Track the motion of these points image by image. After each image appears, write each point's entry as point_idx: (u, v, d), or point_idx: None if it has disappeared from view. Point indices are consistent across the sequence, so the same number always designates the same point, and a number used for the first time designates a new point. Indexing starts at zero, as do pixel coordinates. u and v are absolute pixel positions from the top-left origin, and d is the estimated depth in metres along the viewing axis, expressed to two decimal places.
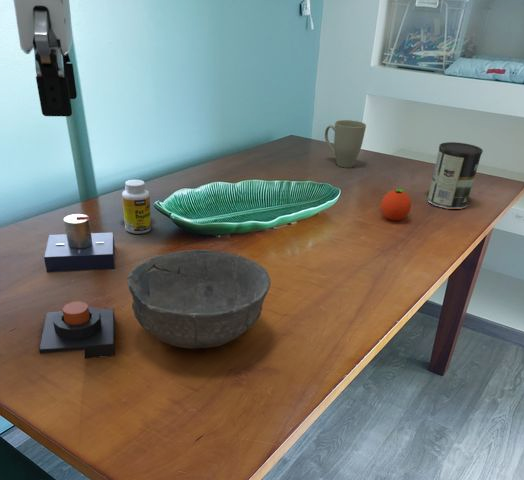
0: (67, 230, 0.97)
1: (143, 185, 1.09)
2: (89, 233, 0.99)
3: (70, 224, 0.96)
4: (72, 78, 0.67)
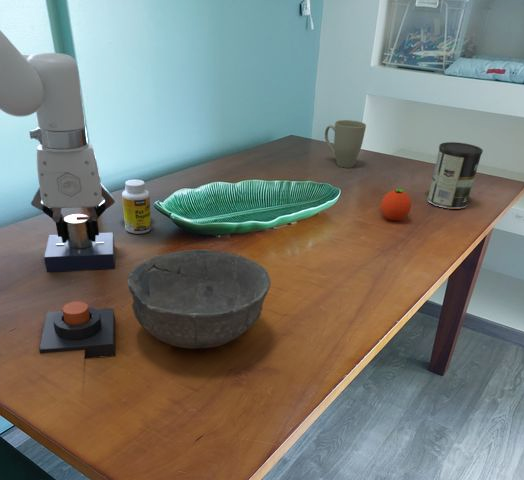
0: (67, 230, 0.97)
1: (143, 185, 1.09)
2: (89, 233, 0.99)
3: (70, 224, 0.96)
4: None
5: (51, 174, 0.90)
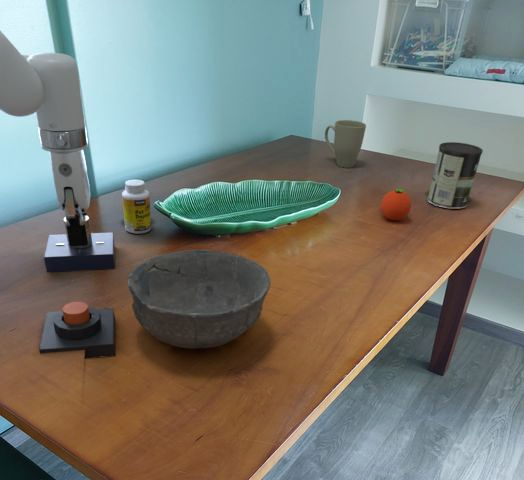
0: None
1: (143, 185, 1.09)
2: None
3: (87, 221, 0.98)
4: None
5: (84, 174, 0.91)
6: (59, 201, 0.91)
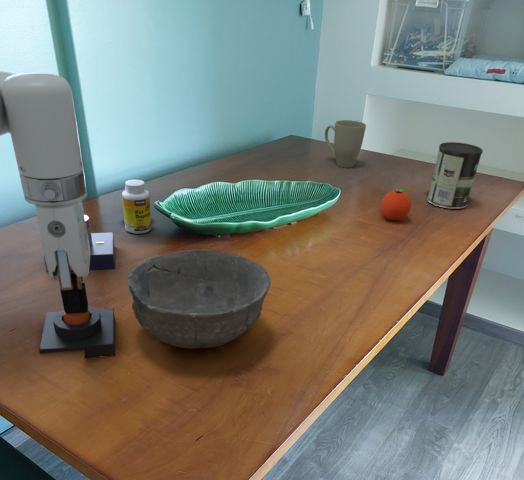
0: None
1: (143, 185, 1.09)
2: None
3: (88, 221, 0.98)
4: None
5: (82, 232, 0.68)
6: (49, 269, 0.68)
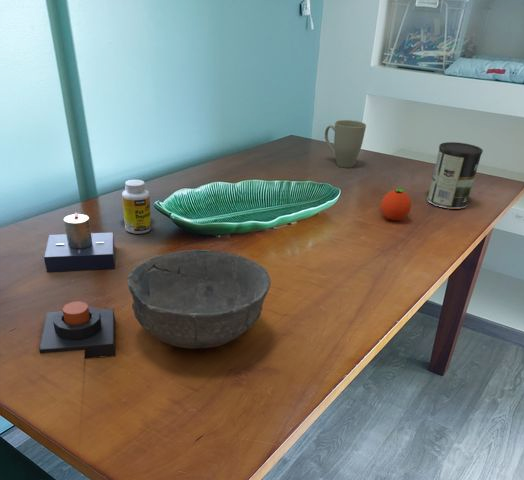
0: (85, 230, 0.98)
1: (143, 185, 1.09)
2: None
3: (88, 221, 0.98)
4: None
5: None
6: None
